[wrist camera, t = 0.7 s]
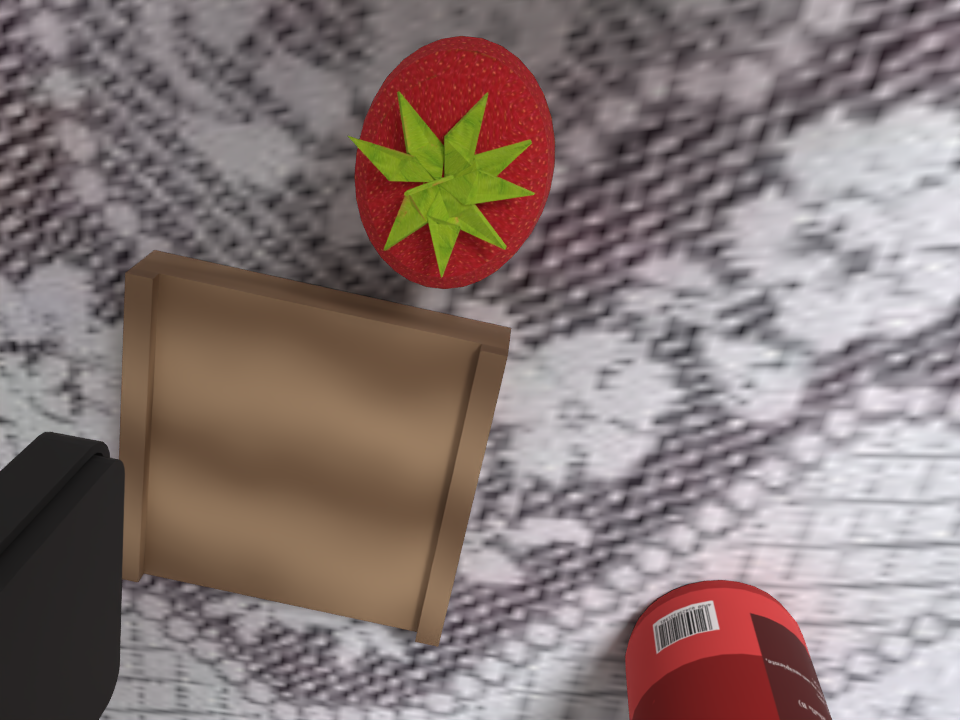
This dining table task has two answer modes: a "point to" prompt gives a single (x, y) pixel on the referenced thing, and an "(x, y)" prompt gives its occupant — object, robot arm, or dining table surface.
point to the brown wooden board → (301, 440)
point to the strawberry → (454, 162)
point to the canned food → (720, 658)
